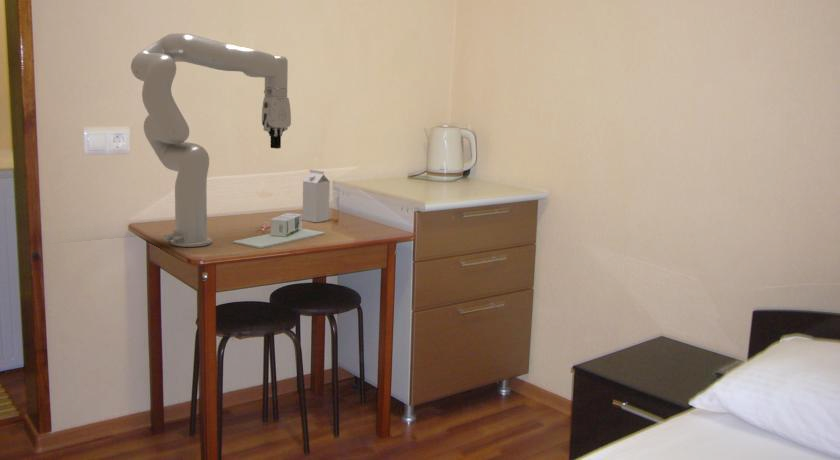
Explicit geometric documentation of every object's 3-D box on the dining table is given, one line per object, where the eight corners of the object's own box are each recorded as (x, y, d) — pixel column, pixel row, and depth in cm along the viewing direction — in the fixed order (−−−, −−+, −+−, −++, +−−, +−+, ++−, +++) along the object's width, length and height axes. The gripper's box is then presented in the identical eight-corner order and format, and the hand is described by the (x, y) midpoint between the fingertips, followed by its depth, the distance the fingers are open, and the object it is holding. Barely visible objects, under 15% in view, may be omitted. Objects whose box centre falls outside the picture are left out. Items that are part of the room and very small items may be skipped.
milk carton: (315, 218, 298) (316, 169, 295) (329, 220, 294) (330, 171, 291) (302, 220, 292) (303, 170, 289) (316, 222, 288) (317, 172, 285)
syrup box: (285, 220, 256) (303, 213, 270) (269, 218, 258) (287, 212, 272) (285, 237, 257) (303, 229, 271) (269, 235, 259) (287, 228, 273)
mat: (260, 248, 242) (260, 246, 242) (232, 243, 248) (232, 241, 248) (325, 234, 269) (325, 232, 268) (298, 229, 275) (298, 227, 275)
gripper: (269, 93, 252) (268, 150, 255) (299, 94, 264) (298, 148, 268) (251, 92, 255) (251, 148, 259) (282, 93, 268) (282, 146, 271)
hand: (275, 148), depth 263 cm, fingers closed
